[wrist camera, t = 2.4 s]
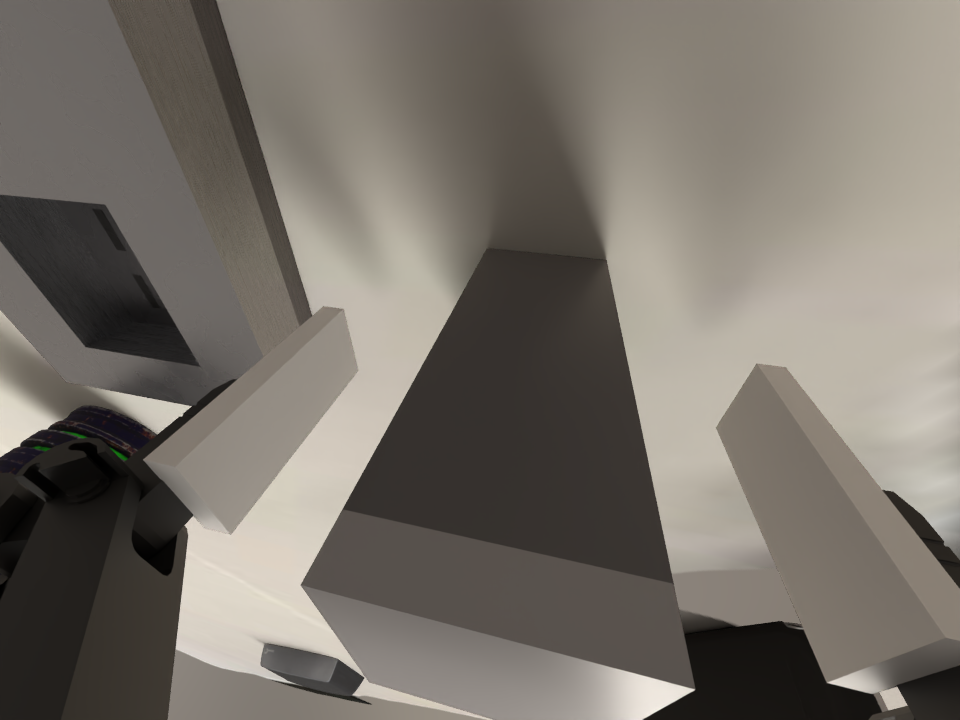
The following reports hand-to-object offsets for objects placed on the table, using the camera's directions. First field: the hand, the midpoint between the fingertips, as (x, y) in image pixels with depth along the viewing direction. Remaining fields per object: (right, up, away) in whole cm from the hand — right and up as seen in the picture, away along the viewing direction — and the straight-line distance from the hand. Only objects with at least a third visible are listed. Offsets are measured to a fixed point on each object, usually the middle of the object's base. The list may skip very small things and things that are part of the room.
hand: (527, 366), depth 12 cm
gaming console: (+17, -22, +18) cm, 33 cm away
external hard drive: (-37, -63, +63) cm, 97 cm away
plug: (+1, +2, +3) cm, 4 cm away
